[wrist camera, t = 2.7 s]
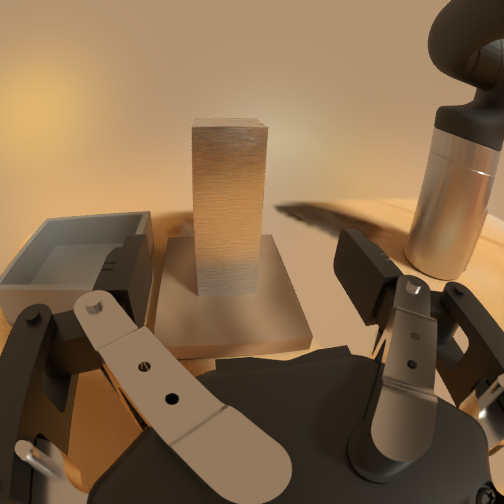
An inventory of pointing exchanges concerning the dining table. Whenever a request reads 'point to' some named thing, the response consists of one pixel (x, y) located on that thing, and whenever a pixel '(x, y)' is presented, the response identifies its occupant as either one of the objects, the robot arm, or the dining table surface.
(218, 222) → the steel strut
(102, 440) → the dining table surface
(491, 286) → the dining table surface
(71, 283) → the grey tray
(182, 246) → the stud block
